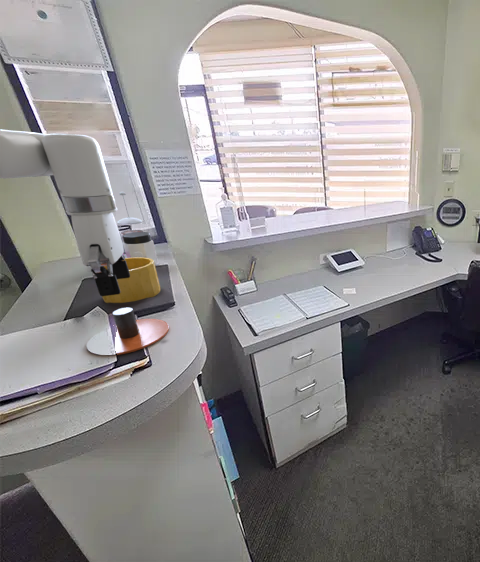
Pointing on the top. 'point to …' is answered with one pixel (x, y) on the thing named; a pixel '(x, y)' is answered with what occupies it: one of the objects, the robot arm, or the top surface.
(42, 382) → the top surface
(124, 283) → the tin
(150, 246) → the jar
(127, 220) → the french press
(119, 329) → the lid
